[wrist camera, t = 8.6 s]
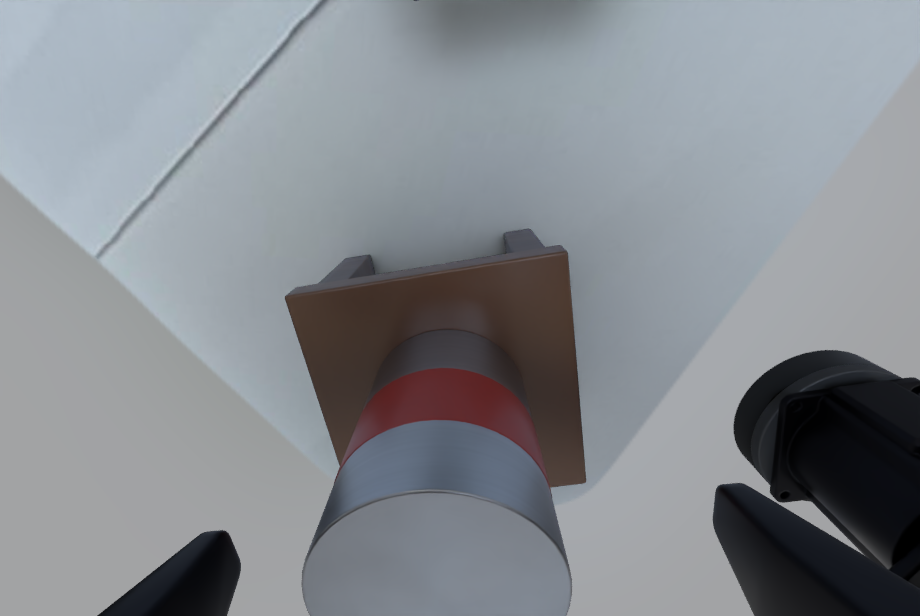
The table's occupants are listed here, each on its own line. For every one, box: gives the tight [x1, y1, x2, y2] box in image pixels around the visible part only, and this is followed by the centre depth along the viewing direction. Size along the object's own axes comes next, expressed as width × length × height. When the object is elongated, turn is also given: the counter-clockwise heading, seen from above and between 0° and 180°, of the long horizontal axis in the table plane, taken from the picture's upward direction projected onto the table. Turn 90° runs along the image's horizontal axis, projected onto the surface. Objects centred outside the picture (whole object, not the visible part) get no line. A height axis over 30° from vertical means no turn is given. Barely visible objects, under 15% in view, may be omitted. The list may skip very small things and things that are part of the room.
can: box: [302, 330, 572, 616], centre depth 11 cm, size 5×5×7 cm
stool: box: [285, 229, 586, 487], centre depth 18 cm, size 9×9×6 cm
